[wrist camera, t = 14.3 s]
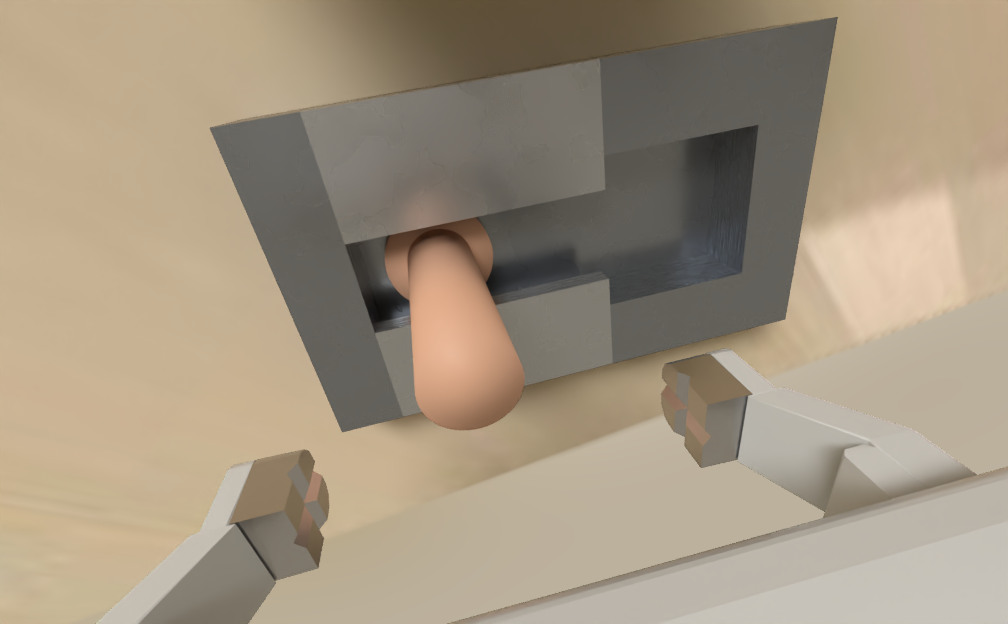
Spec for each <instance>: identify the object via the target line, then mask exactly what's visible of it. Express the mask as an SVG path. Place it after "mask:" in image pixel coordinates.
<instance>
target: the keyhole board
mask: <svg viewBox="0 0 1008 624" xmlns="http://www.w3.org/2000/svg"><path fill="white" fill-rule="evenodd" d="M837 19H838V17H835V18H828V19H821V20H814V21H807V22H800V23H793V24H786V25H779V26H772V27H766V28H761V29H755V30H749V31H743V32H738V33H732V34H726V35H721V36H715V37H709V38H704V39H698V40H692V41H687V42H681V43H675V44H669V45H664V46H658V47H652V48H647V49H641V50H635V51H630V52H624V53H618V54H613V55H607V56H601V57H595V58H590V59H584V60H578V61H573V62H567V63H561V64H556V65H550V66H544V67H539V68H533V69H527V70H521V71H516V72H510V73H504V74H499V75H493V76H487V77H482V78H476V79H470V80H465V81H459V82H453V83H448V84H442V85H436V86H430V87H425V88H419V89H413V90H408V91H402V92H396V93H391V94H385V95H379V96H374V97H368V98H362V99H356V100H351V101H345V102H339V103H334V104H328V105H322V106H317V107H311V108H305V109H300V110H294V111H288V112H282V113H277V114H271V115H265V116H260V117H254V118H248V119H243V120H238V121H234V122H231V123H227V124H223V125H219V126H215V127H211V128H210V130H211V132H212V134H213V137H214V139H215V141H216V144H217V146H218V148H219V150H220V153H221V155H222V157H223V160H224V162H225V164H226V167H227V169H228V171H229V173H230V176H231V178H232V180H233V183H234V185H235V187H236V189H237V192H238V194H239V196H240V199H241V201H242V203H243V206H244V208H245V210H246V212H247V215H248V217H249V219H250V222H251V224H252V226H253V228H254V231H255V233H256V235H257V238H258V240H259V242H260V245H261V247H262V249H263V251H264V254H265V256H266V258H267V261H268V263H269V265H270V268H271V270H272V272H273V274H274V277H275V279H276V281H277V284H278V286H279V288H280V290H281V293H282V295H283V297H284V300H285V302H286V304H287V307H288V309H289V311H290V313H291V316H292V318H293V320H294V323H295V325H296V327H297V330H298V332H299V334H300V336H301V339H302V341H303V343H304V346H305V348H306V350H307V352H308V355H309V357H310V359H311V362H312V364H313V366H314V369H315V371H316V373H317V375H318V378H319V380H320V382H321V385H322V387H323V389H324V391H325V394H326V396H327V398H328V401H329V403H330V405H331V408H332V410H333V412H334V414H335V417H336V419H337V421H338V424H339V426H340V428H341V431H342V432H346V431H350V430H354V429H357V428H361V427H365V426H369V425H373V424H377V423H381V422H385V421H389V420H393V419H397V418H401V417H404V416H408V415H412V414H416V413H420V412H422V411H421V409H420V408H419V406H418V404H417V401H416V397H415V386H414V368H413V351H412V333H411V316H410V301H409V300H408V299H406V298H405V297H404V296H402V295H401V294H400V293H399V292H398V291H397V290H396V289H395V287H394V286H393V284H392V283H391V281H390V279H389V277H388V274H387V271H386V267H385V245H386V240H387V236H388V235H392V234H397V233H402V232H407V231H411V230H416V229H421V228H426V227H431V226H435V225H440V224H445V223H450V222H454V221H459V220H464V219H469V218H473V217H476V218H477V219H478V220H479V221H480V223H481V224H482V226H483V227H484V229H485V231H486V233H487V234H488V236H489V239H490V241H491V245H492V249H493V265H492V269H491V273H490V275H489V278H488V280H487V281H486V285H487V287H488V290H489V292H490V294H491V296H492V299H493V301H494V303H495V305H496V308H497V310H498V312H499V314H500V317H501V319H502V321H503V324H504V326H505V328H506V330H507V333H508V335H509V337H510V339H511V342H512V344H513V346H514V348H515V351H516V353H517V355H518V358H519V360H520V362H521V364H522V367H523V370H524V376H525V382H524V386H526V385H530V384H534V383H538V382H542V381H546V380H549V379H553V378H557V377H561V376H565V375H569V374H573V373H577V372H581V371H585V370H589V369H593V368H596V367H600V366H604V365H608V364H612V363H616V362H620V361H624V360H628V359H632V358H636V357H640V356H643V355H647V354H651V353H655V352H659V351H663V350H667V349H671V348H675V347H679V346H683V345H687V344H690V343H694V342H698V341H702V340H706V339H710V338H714V337H718V336H722V335H726V334H730V333H734V332H737V331H741V330H745V329H749V328H753V327H757V326H761V325H765V324H769V323H773V322H777V321H781V320H784V319H785V317H786V312H787V306H788V300H789V294H790V289H791V283H792V277H793V271H794V266H795V260H796V254H797V248H798V243H799V237H800V231H801V225H802V220H803V214H804V208H805V202H806V197H807V191H808V185H809V179H810V174H811V168H812V162H813V156H814V151H815V145H816V139H817V133H818V128H819V122H820V116H821V110H822V105H823V99H824V93H825V87H826V82H827V76H828V70H829V64H830V59H831V53H832V47H833V42H834V36H835V30H836V24H837Z"/></svg>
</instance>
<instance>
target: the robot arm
mask: <svg viewBox="0 0 1008 624" xmlns="http://www.w3.org/2000/svg"><path fill="white" fill-rule="evenodd" d="M662 379H663V380H664V381H665V382H666V384H667V386H666V387H665V389H664V390H663V392H662V393H661V404H662V408H663V412H664V416H665V418H666V420H667V422H668V424H669V425H670V426H671V428H672V430H673V431H674V432H676V433H678V434H680V435H682V436H684V437H685V447H686V449H687V450H688V451H689V453H690V454H691V455H692V457H693V458H694V459H695V460H696V462H697V463H698V465H699V466H700V467H701V468H703V467H707V466H712V465H716V464H720V463H725V462H729V461H733V460H738V462H739V463H741V464H743V465H745V466H746V467H748V468H750V469H751V470H753V471H755V472H757V473H758V474H760V475H762V476H764V477H765V478H767V479H769V480H770V481H772V482H774V483H776V484H778V485H779V486H781V487H783V488H784V489H786V490H788V491H790V492H791V493H793V494H795V495H796V496H798V497H800V498H802V499H803V500H805V501H807V502H809V503H810V504H812V505H814V506H816V507H817V508H819V509H821V510H823V511H824V512H825V513H824V517H823V518H822V519H819V520H815V521H812V522H808V523H804V524H801V525H798V526H794V527H790V528H786V529H783V530H780V531H776V532H772V533H769V534H765V535H762V536H758V537H754V538H751V539H747V540H744V541H740V542H736V543H733V544H729V545H726V546H722V547H719V548H715V549H712V550H708V551H705V552H701V553H697V554H694V555H691V556H687V557H684V558H680V559H677V560H673V561H669V562H666V563H662V564H658V565H655V566H651V567H648V568H644V569H641V570H637V571H634V572H630V573H627V574H623V575H619V576H616V577H612V578H609V579H605V580H602V581H599V582H595V583H591V584H588V585H584V586H581V587H577V588H573V589H570V590H566V591H562V592H559V593H555V594H552V595H548V596H545V597H541V598H537V599H534V600H530V601H527V602H523V603H519V604H516V605H512V606H509V607H505V608H502V609H498V610H494V611H491V612H487V613H484V614H480V615H476V616H473V617H469V618H466V619H462V620H459V621H455V622H452V623H448V624H1008V467H1005V468H1001V469H997V470H994V471H990V472H986V473H983V474H979V475H977V474H975V473H974V472H972V471H971V470H970V469H968V468H967V467H965V466H964V465H963V464H961V463H960V462H958V461H957V460H956V459H954V458H952V457H951V456H950V455H949V454H947V453H946V452H944V451H943V450H942V449H940V448H939V447H937V446H936V445H934V444H933V443H932V442H930V441H929V440H928V439H926V438H925V437H923V436H922V435H920V434H919V433H917V432H916V431H915V430H913V429H910V428H907V427H904V426H901V425H898V424H895V423H892V422H888V421H886V420H883V419H879V418H876V417H873V416H870V415H867V414H864V413H861V412H858V411H855V410H852V409H849V408H846V407H843V406H839V405H836V404H833V403H830V402H827V401H824V400H821V399H818V398H815V397H812V396H809V395H806V394H803V393H799V392H796V391H793V390H790V389H787V388H784V387H783V388H778V389H777V388H775V387H774V386H773V385H772V384H771V383H770V382H768V381H767V380H766V379H765V378H764V377H763V376H761V375H760V374H759V373H758V372H757V371H756V370H754V369H753V368H752V367H751V366H750V365H749V364H747V363H746V362H745V361H744V360H743V359H742V358H740V357H739V356H738V355H737V354H736V353H735V352H733V351H732V350H730V349H727V348H724V349H720V350H716V351H713V352H709V353H706V354H703V355H699V356H694V357H690V358H686V359H682V360H678V361H674V362H670V363H666V364H664V367H663V369H662ZM314 464H315V461H314V459H313V457H312V455H311V453H310V452H309V451H308V450H299V451H295V452H290V453H285V454H281V455H276V456H271V457H267V458H262V459H258V460H255V461H250V462H245V463H241V464H236V465H233V466H232V467H231V468H230V469H228V471H227V473H226V475H225V477H224V479H223V481H222V484H221V486H220V488H219V490H218V492H217V494H216V497H215V499H214V501H213V503H212V505H211V508H210V510H209V512H208V514H207V516H206V518H205V521H204V523H203V525H202V527H201V529H200V531H199V533H196V534H192V535H190V536H189V537H188V538H187V539H186V540H185V541H184V542H183V543H182V544H181V545H180V546H178V547H177V548H176V549H175V550H174V551H173V552H172V553H171V554H170V555H169V556H168V557H167V558H166V559H164V560H163V561H162V562H161V563H160V564H159V565H158V566H157V567H156V568H155V569H154V570H153V571H152V572H151V573H149V574H148V575H147V576H146V577H145V578H144V579H143V580H142V581H141V582H140V583H139V584H138V585H137V586H135V587H134V588H133V589H132V590H131V591H130V592H129V593H128V594H127V595H126V596H125V597H124V598H123V599H122V600H120V601H119V602H118V603H117V604H116V605H115V606H114V607H113V608H112V609H111V610H110V611H109V612H108V613H106V614H105V615H104V617H102V618H101V619H100V620H99V621H98V622H97V623H96V624H248V623H249V622H250V620H251V619H252V617H253V616H254V614H255V613H256V612H257V610H258V609H259V607H260V606H261V604H262V603H263V601H264V600H265V599H266V597H267V595H268V594H269V593H270V591H271V590H272V588H273V587H274V585H275V584H276V582H275V581H276V580H280V579H283V578H286V577H290V576H293V575H297V574H300V573H303V572H307V571H311V570H314V569H317V568H318V567H319V562H320V556H321V551H322V546H323V540H324V538H323V536H322V534H321V532H320V530H319V529H320V528H321V527H322V525H323V524H324V523H325V522H326V520H327V518H328V512H329V494H328V490H327V486H326V483H325V481H324V479H323V477H322V475H320V474H318V473H316V472H314V471H313V468H314Z"/></svg>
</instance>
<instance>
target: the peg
mask: <svg viewBox="0 0 1008 624" xmlns="http://www.w3.org/2000/svg"><path fill="white" fill-rule="evenodd" d="M492 265H493V249H492V245H491V241H490V239H489V236H488V234H487V233H486V231H485V229H484V227H483V226H482V224H481V223H480V221H479V220H478V219H477V218H476V217H473V218H469V219H464V220H459V221H454V222H450V223H445V224H440V225H435V226H431V227H426V228H421V229H416V230H411V231H407V232H402V233H397V234H392V235H388V236H387V240H386V245H385V267H386V271H387V274H388V277H389V279H390V281H391V283H392V284H393V286H394V287H395V289H396V290H397V291H398V292H399V293H400V294H401V295H402V296H404V297H405V298H406V299H408V300H409V301H410V316H411V333H412V351H413V368H414V386H415V397H416V401H417V404H418V406H419V408H420V409H421V411H422V412H423V413H424V415H425V416H426V417H427V418H429V419H430V420H431V421H433V422H434V423H436V424H438V425H440V426H442V427H445V428H449V429H454V430H473V429H478V428H482V427H485V426H488V425H490V424H493V423H495V422H497V421H498V420H500V419H501V418H503V417H504V416H506V415H507V414H508V413H509V412H510V411H511V410H512V409H513V408H514V406H515V405H516V404H517V402H518V401H519V399H520V397H521V395H522V392H523V388H524V382H525V376H524V370H523V367H522V364H521V362H520V360H519V358H518V355H517V353H516V351H515V348H514V346H513V344H512V342H511V339H510V337H509V335H508V333H507V330H506V328H505V326H504V324H503V321H502V319H501V317H500V314H499V312H498V310H497V308H496V305H495V303H494V301H493V299H492V296H491V294H490V292H489V290H488V287H487V285H486V281H487V280H488V278H489V275H490V273H491V269H492Z"/></svg>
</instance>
